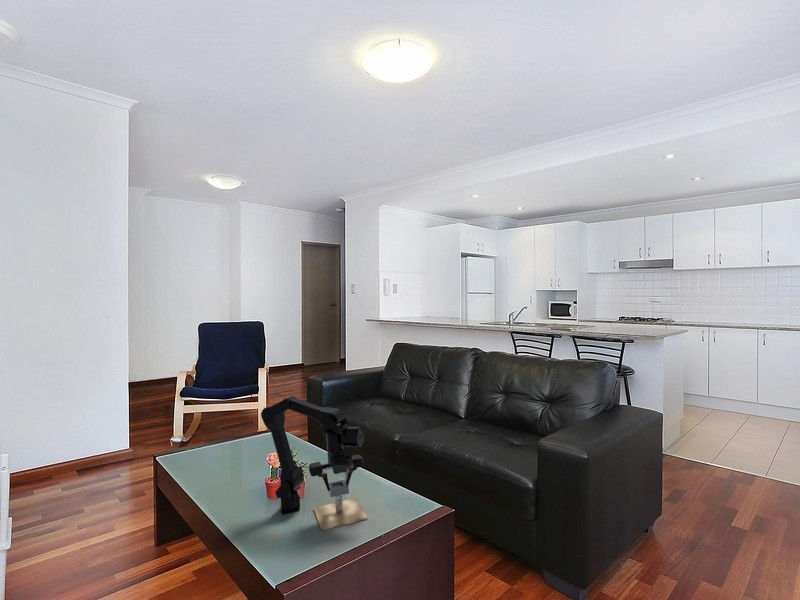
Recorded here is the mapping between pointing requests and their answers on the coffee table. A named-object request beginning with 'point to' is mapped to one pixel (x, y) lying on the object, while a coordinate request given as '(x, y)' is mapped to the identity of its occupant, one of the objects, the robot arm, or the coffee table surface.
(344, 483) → the collar
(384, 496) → the coffee table surface
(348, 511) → the wooden peg base
